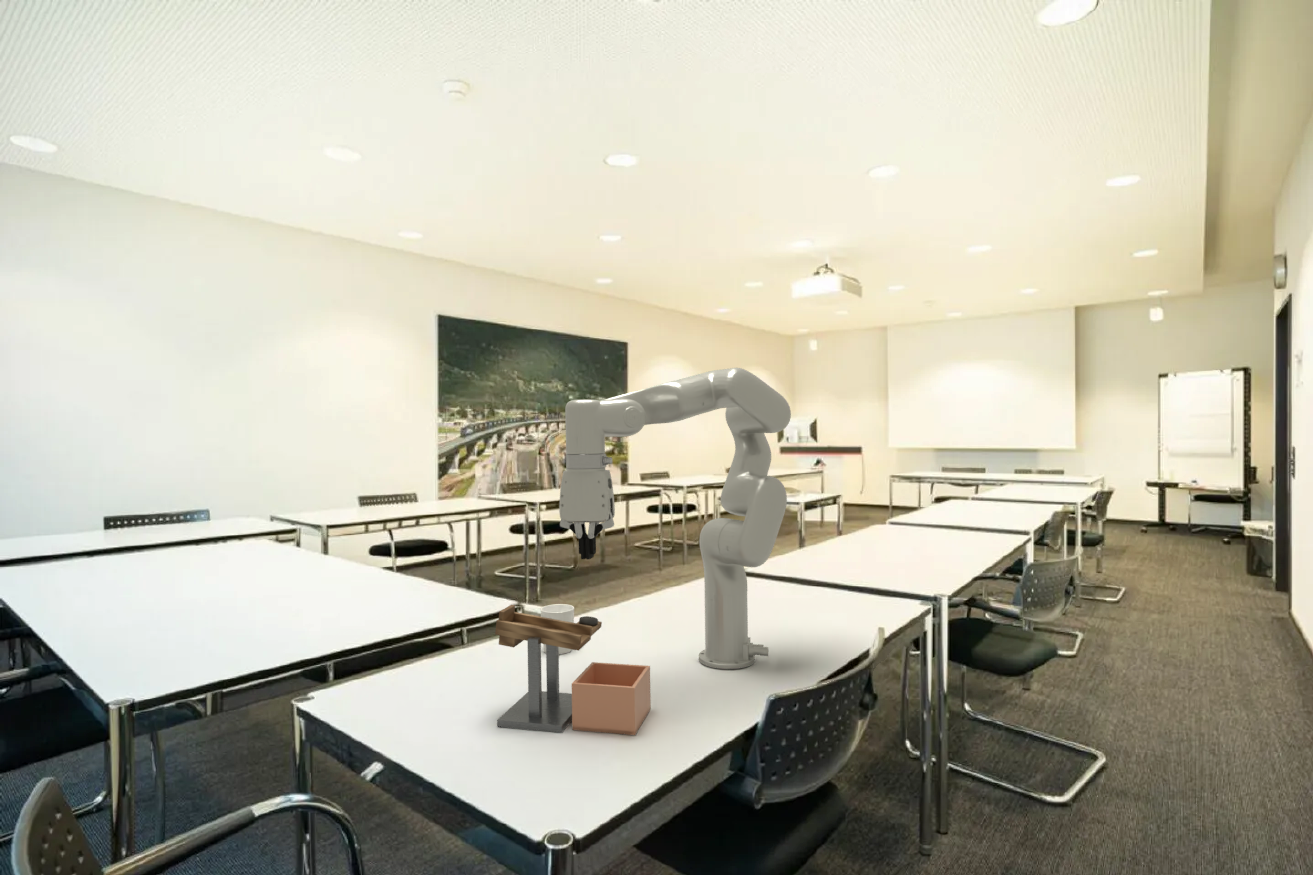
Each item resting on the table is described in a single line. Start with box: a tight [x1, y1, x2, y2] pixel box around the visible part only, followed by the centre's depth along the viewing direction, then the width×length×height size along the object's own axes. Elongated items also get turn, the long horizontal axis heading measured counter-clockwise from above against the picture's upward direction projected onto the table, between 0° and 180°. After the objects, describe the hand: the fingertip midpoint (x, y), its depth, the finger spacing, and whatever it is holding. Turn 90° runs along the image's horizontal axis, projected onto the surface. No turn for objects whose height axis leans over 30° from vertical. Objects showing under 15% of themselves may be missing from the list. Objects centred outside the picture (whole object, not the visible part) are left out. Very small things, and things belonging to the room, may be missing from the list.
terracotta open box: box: [571, 661, 652, 736], centre depth 122 cm, size 11×11×8 cm
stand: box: [496, 637, 572, 733], centre depth 125 cm, size 12×14×15 cm
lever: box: [494, 604, 603, 651], centre depth 129 cm, size 16×15×6 cm
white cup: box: [540, 603, 575, 655], centre depth 162 cm, size 8×8×10 cm
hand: (587, 557), depth 133 cm, fingers closed
